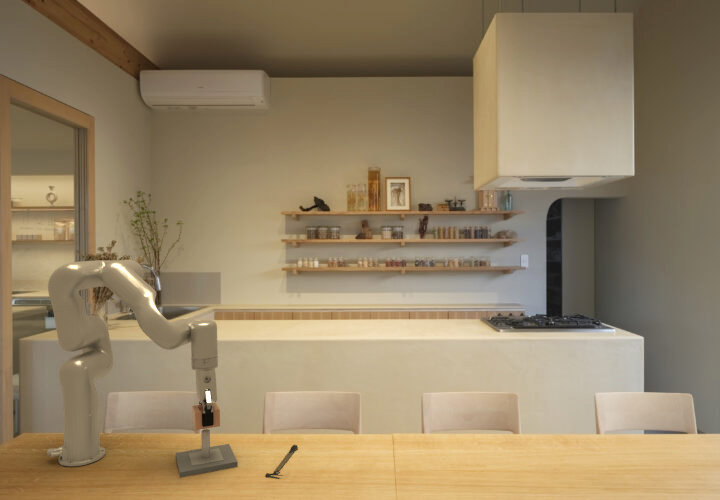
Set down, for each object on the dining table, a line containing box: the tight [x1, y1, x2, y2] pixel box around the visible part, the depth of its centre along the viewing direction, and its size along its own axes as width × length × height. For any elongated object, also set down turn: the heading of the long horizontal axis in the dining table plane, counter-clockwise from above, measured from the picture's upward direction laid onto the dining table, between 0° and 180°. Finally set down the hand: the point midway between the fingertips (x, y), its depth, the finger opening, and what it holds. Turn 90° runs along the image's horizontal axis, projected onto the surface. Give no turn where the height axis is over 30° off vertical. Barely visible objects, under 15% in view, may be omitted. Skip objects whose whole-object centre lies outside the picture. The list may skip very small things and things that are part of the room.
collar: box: [191, 402, 221, 431], centre depth 153 cm, size 7×7×5 cm
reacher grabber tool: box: [264, 444, 298, 480], centre depth 153 cm, size 21×7×1 cm, turn 166°
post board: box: [175, 428, 239, 478], centre depth 153 cm, size 16×14×10 cm
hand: (206, 421), depth 153 cm, fingers closed on collar, 7 cm apart
